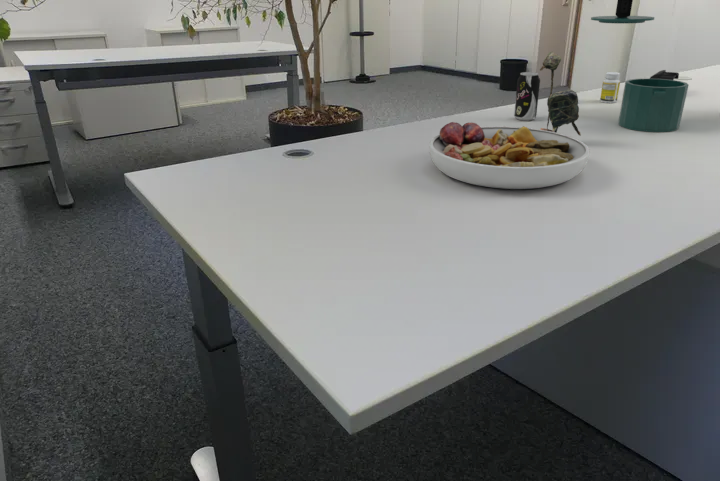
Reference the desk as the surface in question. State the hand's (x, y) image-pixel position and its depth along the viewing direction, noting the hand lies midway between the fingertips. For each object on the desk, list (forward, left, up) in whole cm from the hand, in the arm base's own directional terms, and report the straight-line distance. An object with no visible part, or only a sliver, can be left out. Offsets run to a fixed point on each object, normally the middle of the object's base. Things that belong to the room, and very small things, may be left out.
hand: (622, 15), depth 140 cm
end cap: (-17, -36, -25) cm, 47 cm away
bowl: (+21, +57, -25) cm, 66 cm away
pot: (-9, +11, -25) cm, 29 cm away
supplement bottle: (-1, -19, -25) cm, 32 cm away
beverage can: (+21, +11, -25) cm, 35 cm away
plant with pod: (+13, +34, -25) cm, 44 cm away
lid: (0, 0, -1) cm, 1 cm away
